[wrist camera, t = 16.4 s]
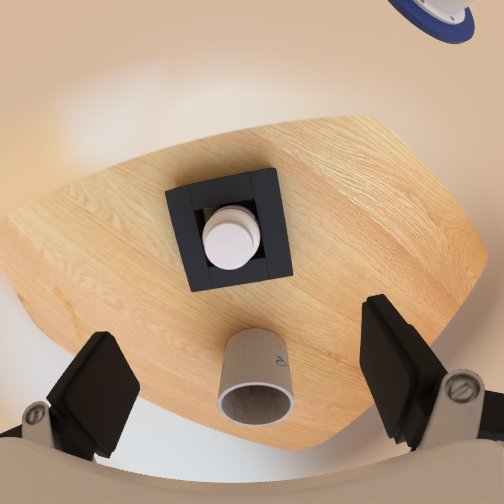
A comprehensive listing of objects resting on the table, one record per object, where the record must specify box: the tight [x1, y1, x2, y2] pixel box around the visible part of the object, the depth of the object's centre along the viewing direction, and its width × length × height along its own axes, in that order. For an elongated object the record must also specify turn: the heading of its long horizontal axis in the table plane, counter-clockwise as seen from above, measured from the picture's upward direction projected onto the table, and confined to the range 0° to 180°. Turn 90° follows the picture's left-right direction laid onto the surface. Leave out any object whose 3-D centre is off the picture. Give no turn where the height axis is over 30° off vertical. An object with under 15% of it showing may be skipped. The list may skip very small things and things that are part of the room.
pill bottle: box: [203, 201, 260, 270], centre depth 26 cm, size 5×5×9 cm
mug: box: [217, 328, 294, 427], centre depth 32 cm, size 12×9×10 cm
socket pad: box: [165, 168, 293, 292], centre depth 28 cm, size 11×11×4 cm
